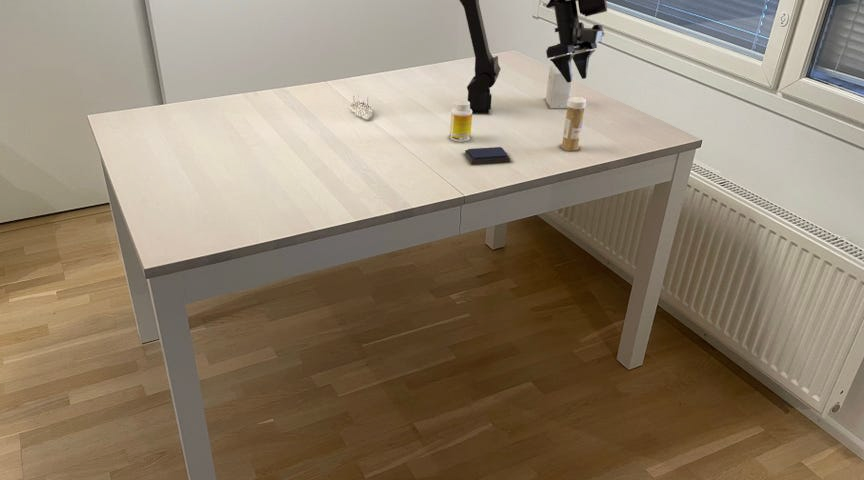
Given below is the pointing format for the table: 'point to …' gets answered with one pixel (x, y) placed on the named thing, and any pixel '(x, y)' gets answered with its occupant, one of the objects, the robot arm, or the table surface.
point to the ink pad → (487, 155)
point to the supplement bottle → (461, 121)
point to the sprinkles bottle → (573, 123)
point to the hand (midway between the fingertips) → (577, 80)
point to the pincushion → (361, 109)
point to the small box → (557, 89)
